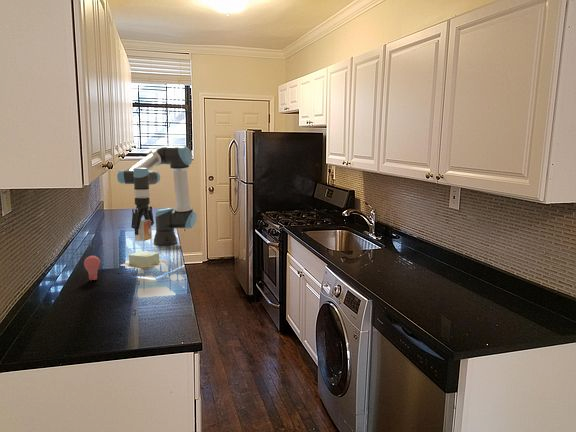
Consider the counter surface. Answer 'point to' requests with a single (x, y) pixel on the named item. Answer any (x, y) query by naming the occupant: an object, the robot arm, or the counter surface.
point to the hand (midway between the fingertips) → (143, 239)
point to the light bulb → (92, 266)
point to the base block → (144, 258)
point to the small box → (145, 230)
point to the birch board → (144, 266)
